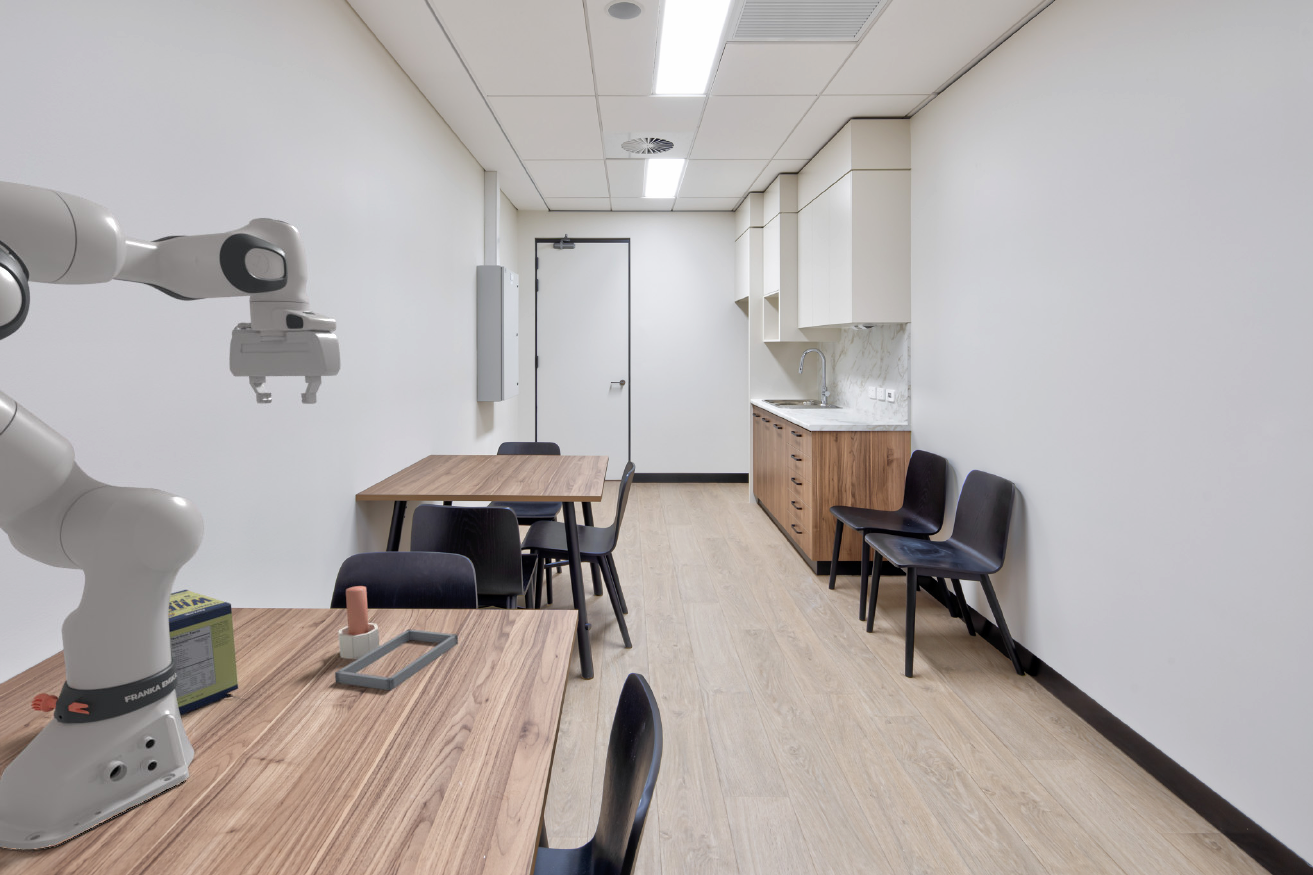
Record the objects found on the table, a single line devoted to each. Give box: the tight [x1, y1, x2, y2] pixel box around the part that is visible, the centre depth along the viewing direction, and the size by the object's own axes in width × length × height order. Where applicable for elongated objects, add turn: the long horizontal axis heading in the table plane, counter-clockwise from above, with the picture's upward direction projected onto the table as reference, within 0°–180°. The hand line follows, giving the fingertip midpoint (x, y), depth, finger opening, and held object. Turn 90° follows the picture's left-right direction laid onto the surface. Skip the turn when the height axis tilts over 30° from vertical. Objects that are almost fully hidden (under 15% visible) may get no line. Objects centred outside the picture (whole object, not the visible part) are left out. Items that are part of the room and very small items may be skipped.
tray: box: [334, 628, 459, 691], centre depth 126 cm, size 20×11×2 cm, turn 164°
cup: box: [338, 622, 380, 660], centre depth 130 cm, size 7×7×5 cm
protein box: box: [169, 589, 239, 716], centre depth 115 cm, size 10×16×16 cm
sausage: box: [345, 585, 369, 636], centre depth 130 cm, size 4×4×12 cm
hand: (286, 403), depth 118 cm, fingers open, 8 cm apart
